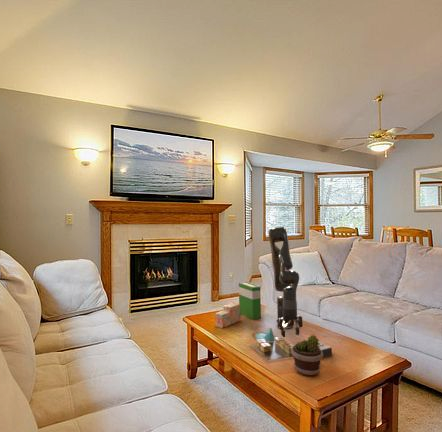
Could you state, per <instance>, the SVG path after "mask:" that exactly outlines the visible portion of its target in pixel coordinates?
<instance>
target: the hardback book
mask: <svg viewBox="0 0 442 432" xmlns="http://www.w3.org/2000/svg"><path fill="white" fill-rule="evenodd" d="M261 293H262V292H261V286H260V285H257V284H255V283H251V282H249V281H245V282H238V304H240V315H241V316H244V317H247V318H248V319H250V320H253V321H255V320H258V319H262V302H261V301H262V300H261V298H262V297H261Z"/></svg>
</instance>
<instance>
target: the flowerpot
mask: <svg viewBox="0 0 442 432" xmlns="http://www.w3.org/2000/svg"><path fill="white" fill-rule="evenodd" d="M302 341H303V342H302ZM296 342H297V343H295V345H293V347H292V348H291V351H290V352H291V354H292V355H293V356H294V357H293V360H294V363H293V367H294V369H295V370H296V372H297V373H298V374H300V375H302V376H304V377H315V376H317V375H318V374H319V373H320V371H321V369H322V368H321V366H320V364H321V361H322V360H323V358H324V357H323V355H324V354H323V352H322V351H321V350H320V347H318V344H319V343H320V340H319V338H318V336H317V335H316V334H315V333H312V334H310V336H308V337H307V339H303V340H300V341H296ZM298 342H299V343H298ZM300 342H302V343H300Z"/></svg>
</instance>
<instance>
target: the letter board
mask: <svg viewBox="0 0 442 432" xmlns="http://www.w3.org/2000/svg"><path fill="white" fill-rule="evenodd" d="M289 344H291V343H290V342H289V341H288V340H286V339H285V337H283V336H277V337H274V341H269V342H267V340H266V339H255V343H254V344H251V346H252V348H253V349H254V350H255V351H257V352H258V353H259V354H260V355H261V356H262V357H263V358H264V359H265V360H266V361H273V360H279V359H286V358H292V357H293V358H294V356H293V355H292V354H288V353H287V352H286V351H285V349H284V345H289Z"/></svg>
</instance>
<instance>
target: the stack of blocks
mask: <svg viewBox="0 0 442 432" xmlns="http://www.w3.org/2000/svg"><path fill="white" fill-rule="evenodd" d="M222 307H223V308H222V310H220V311H217V312H215V320H214V321H215V327H217V328H220V329H223V328H227V327H228V326H230V325H233V324H235V323H238V322H240V321H241V314H240V304H239V303H237V302H231V303H228V304H226V305H223V306H222Z"/></svg>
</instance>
